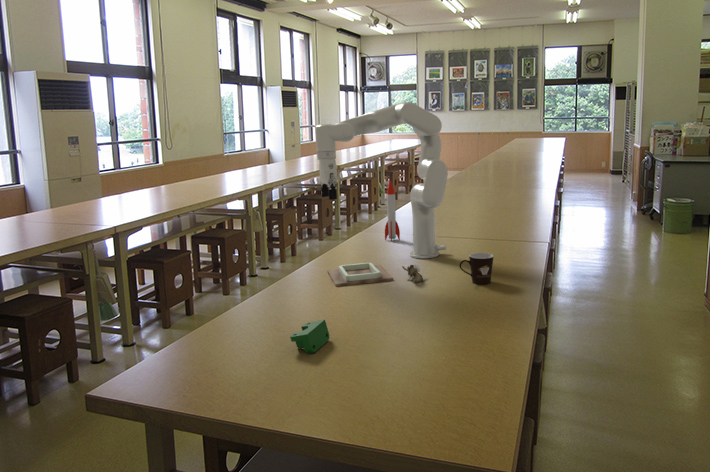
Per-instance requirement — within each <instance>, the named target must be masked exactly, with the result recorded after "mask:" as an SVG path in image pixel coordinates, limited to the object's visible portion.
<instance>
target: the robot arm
mask: <svg viewBox="0 0 710 472" xmlns="http://www.w3.org/2000/svg"><path fill="white" fill-rule="evenodd" d="M406 124H407V125H409V126H411V128H412V130H413V133H415V134H416V135H417V137H418V139H419V141H420V151H419V152H420V153H419V154H420V155H419V158H418V164H417V168H416V172H417V176H418V177H419V178H420V179H421V180H423V181H424V182H420V183H416V184H415V185H414V186H413V187H412V188H411V190H410V194H409V198H410V204H411V211H412V238H413V239H412V242H413V244H412V247H413V250H411V251H410V252H409V256H410V257H412V258H415V259H432V258H437V257H439V255H440V251H445V250H447V246H446V245H441V244H439V245H438V244H436V225H435V224H436V223H435V221H436V220H435V219H436V218H435V217H436V215H435V214H436V213H435V208H438V207H439V206H440V205H441V203H442V202H443V200H444V197H445V191H446V187H447V186H446V185H447V181H448V174H449V172H448V166H447V164H446V163H445V162H444V161H443V160H441V152H442V141H441V140H442V139H441V137H440V135H439V133H440V132H441V130H442V128H443V124H442V121H441V119H440V117H438V116H437V115H435V114H433V112H430V111H429V110H426V109H424V108H423V107H421V106H419V105H417V104H416V103H413V102H410V101H406V102H398V103H395V104H392V105H389V106H386V107H382V108H380V109H379V108H378V109H377V110H374V111H373V110H372V111H370V112H368V113H364V114H362V115H358V116H355V117H352V118H348V119H345V120H342V121H339V122H336V123H334V124H333V123H332V124H331V123H327V124H326V123H325V124H324V123H323V124H317V125H316V126H315V140H316V141H315V143H316V157H317V161H319V162H318V163H319V165H318V166H319V180H320V187H321V188H320V190H321V193H320V194H321V197H322V198H325V197H326V198H327V197H328V200H330V201H332V200H337V199H338V194H337V192H338V191H337V184H338V183H339V177H338V175H339V174H338V167H337V162H336V161H337V151H336V142H343V143H347V142H350V141H352V140H353V139H354V138H355V137H357V136H360V135H365V134H366V135H367V134H374V133H375V134H376V133H380V132H382V131H385V130H388V129H391V128H394V127H397V126H400V125H406Z"/></svg>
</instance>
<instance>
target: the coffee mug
mask: <svg viewBox="0 0 710 472" xmlns="http://www.w3.org/2000/svg"><path fill="white" fill-rule="evenodd" d="M468 258H469V260H467V259H463V260H461V261H460V263H459V269H460V270H461V271H462V272H464V273H466V274H467V275H469V276H470V277H471V280H472V284H474V285H479V286H483V285H485V286H486V285H490V284H491V281H492V273H493V263H494V254H492V253H489V252H474V253H473V252H472V253H471V254H469V255H468ZM465 262H466V263H468V265H469V266H470V267H469V268H470V272H468V271H466V270H464V269H463V267H462V264H463V263H465Z"/></svg>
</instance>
